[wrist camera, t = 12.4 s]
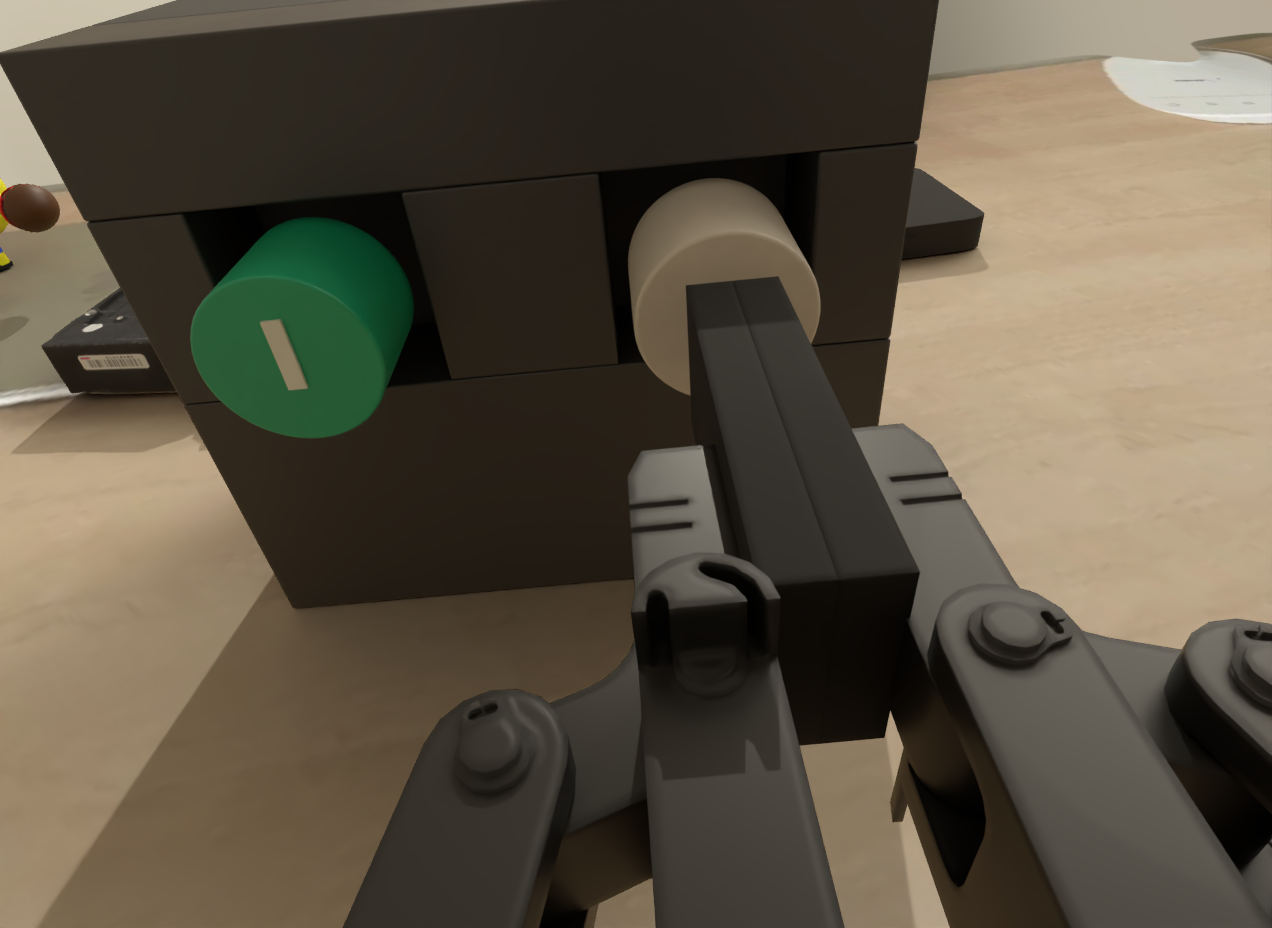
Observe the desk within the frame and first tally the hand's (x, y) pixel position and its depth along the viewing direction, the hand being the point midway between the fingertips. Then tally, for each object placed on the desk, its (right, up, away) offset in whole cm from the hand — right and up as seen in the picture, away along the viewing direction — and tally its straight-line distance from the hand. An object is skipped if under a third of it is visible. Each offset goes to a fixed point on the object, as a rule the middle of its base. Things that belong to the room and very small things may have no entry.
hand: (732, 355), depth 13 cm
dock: (-4, -3, +11) cm, 12 cm away
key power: (-8, -1, +3) cm, 8 cm away
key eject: (0, 0, +3) cm, 3 cm away
